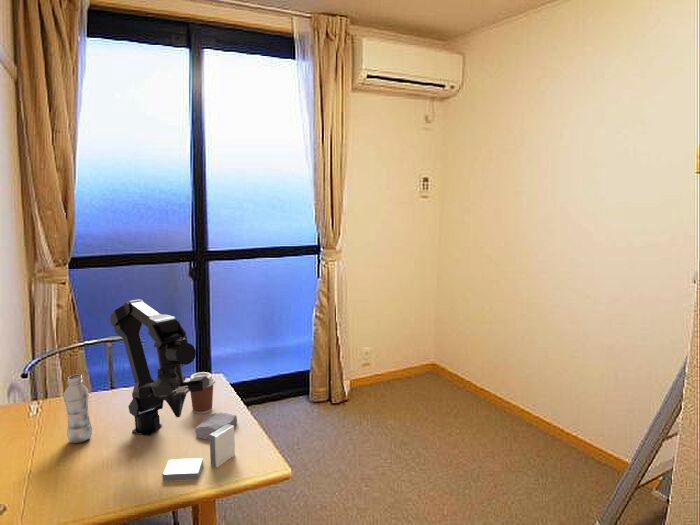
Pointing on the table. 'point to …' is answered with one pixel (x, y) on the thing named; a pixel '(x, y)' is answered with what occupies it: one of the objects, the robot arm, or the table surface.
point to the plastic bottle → (77, 410)
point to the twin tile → (183, 469)
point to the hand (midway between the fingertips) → (178, 416)
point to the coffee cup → (202, 395)
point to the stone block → (214, 424)
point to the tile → (222, 445)
